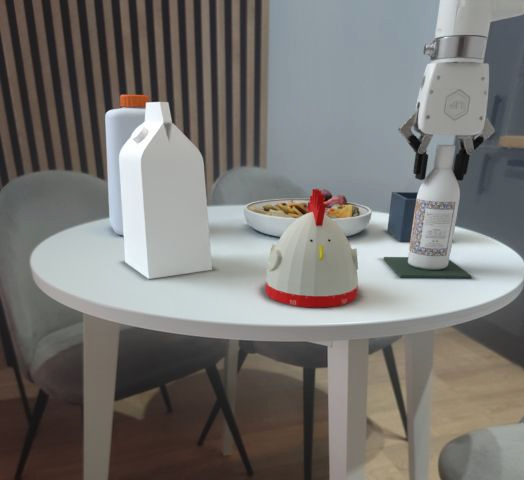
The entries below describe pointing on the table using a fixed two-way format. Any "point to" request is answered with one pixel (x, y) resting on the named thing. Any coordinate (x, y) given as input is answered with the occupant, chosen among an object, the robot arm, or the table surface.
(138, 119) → the plastic bottle
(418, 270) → the mat
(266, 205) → the bowl
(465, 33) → the robot arm
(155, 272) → the milk
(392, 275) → the table surface
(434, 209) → the bath foam
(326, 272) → the kitchen timer
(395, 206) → the dark blue open box
